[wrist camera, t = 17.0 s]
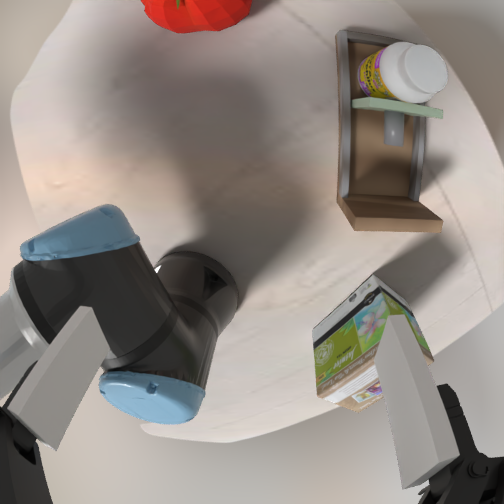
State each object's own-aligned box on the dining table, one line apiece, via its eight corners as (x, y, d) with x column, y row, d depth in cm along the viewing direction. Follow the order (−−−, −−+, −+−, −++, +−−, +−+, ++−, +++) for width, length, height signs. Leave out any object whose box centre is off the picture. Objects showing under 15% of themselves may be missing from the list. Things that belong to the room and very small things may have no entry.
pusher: (411, 144, 31) (441, 154, 24) (349, 138, 32) (369, 145, 25) (412, 108, 29) (442, 110, 22) (349, 100, 30) (369, 97, 23)
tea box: (371, 270, 42) (401, 335, 29) (406, 299, 44) (437, 361, 31) (309, 329, 48) (315, 399, 35) (347, 351, 50) (360, 415, 37)
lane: (408, 204, 36) (440, 232, 28) (336, 202, 37) (354, 230, 29) (412, 48, 26) (449, 35, 17) (335, 36, 27) (354, 12, 18)
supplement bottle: (356, 51, 27) (394, 24, 15) (403, 62, 26) (455, 47, 15) (355, 99, 30) (394, 93, 18) (402, 108, 29) (455, 111, 18)
